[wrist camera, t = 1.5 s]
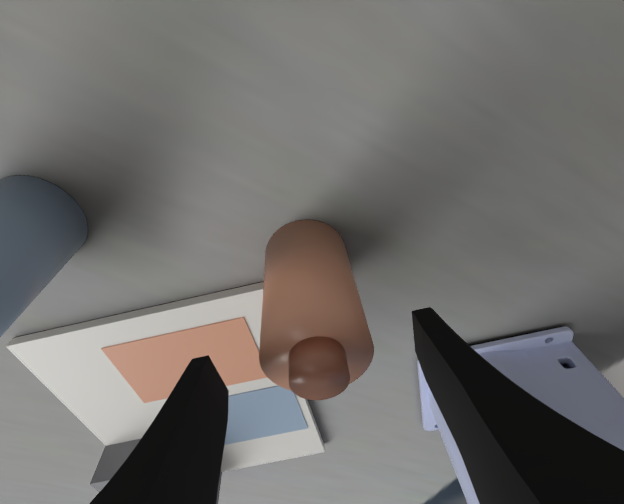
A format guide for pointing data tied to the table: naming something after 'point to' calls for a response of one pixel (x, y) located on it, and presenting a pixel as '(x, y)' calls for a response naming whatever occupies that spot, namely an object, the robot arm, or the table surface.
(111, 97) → the table surface
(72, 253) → the slate marker
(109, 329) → the picture board
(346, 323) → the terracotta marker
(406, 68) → the table surface
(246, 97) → the table surface
